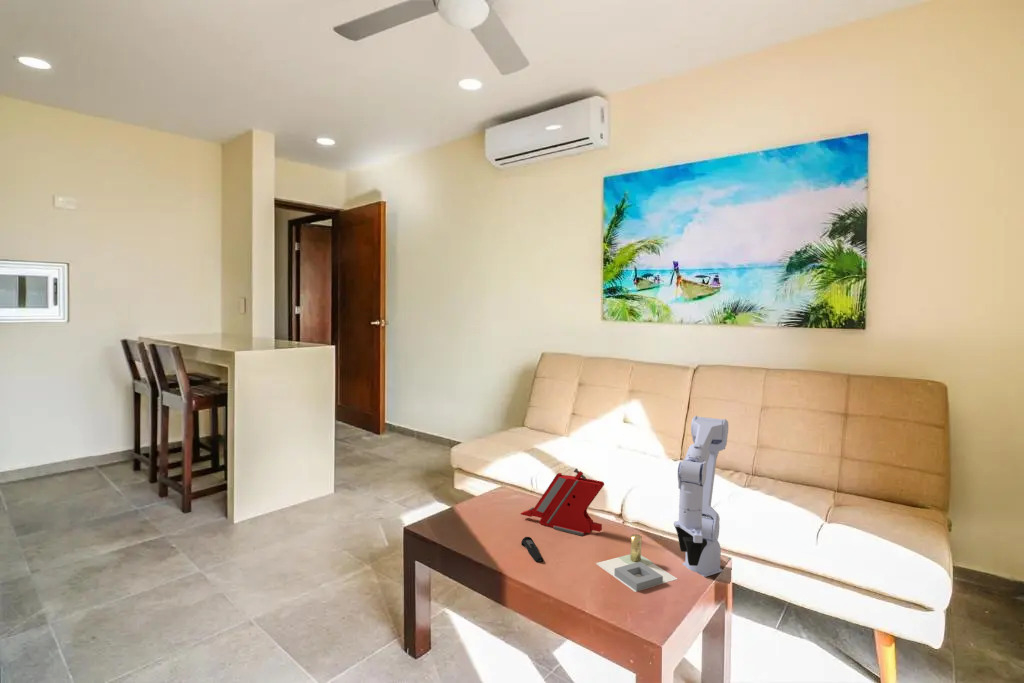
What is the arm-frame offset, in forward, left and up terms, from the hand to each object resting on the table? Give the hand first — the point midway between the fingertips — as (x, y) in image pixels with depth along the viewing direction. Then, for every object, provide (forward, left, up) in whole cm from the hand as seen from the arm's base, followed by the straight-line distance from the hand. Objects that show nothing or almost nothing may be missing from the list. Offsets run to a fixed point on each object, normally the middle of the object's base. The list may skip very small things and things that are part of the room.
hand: (688, 557), depth 137 cm
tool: (+8, -50, -10) cm, 51 cm away
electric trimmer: (+25, -37, -10) cm, 46 cm away
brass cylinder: (+2, -18, -8) cm, 20 cm away
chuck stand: (+6, -14, -9) cm, 18 cm away
